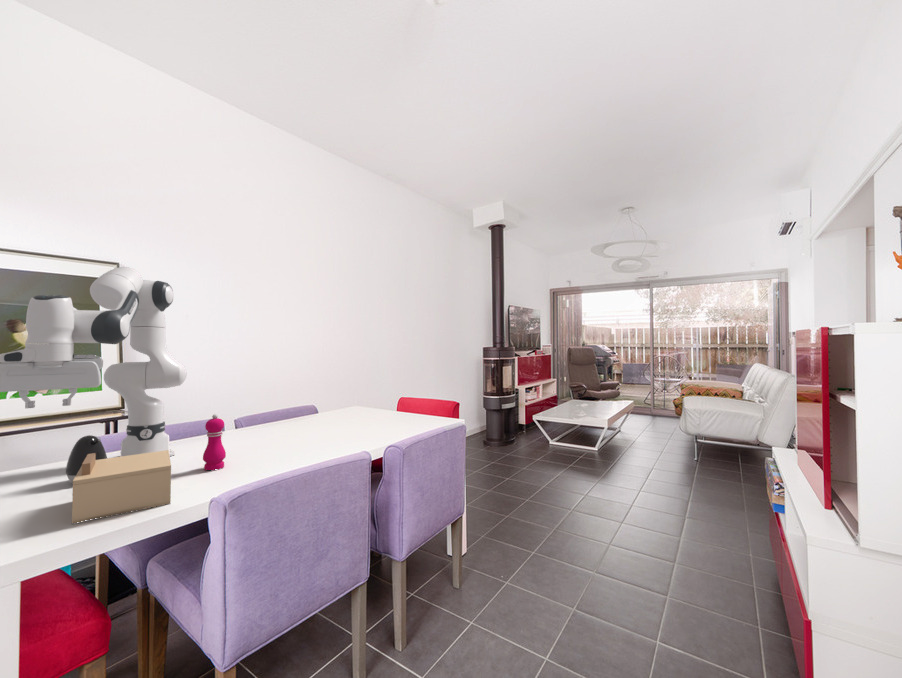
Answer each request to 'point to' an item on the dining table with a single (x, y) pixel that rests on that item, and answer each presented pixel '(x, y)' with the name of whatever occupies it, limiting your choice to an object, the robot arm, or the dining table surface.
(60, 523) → the dining table surface
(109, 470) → the lid
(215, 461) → the pepper mill
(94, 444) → the black egg shape
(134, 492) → the box
